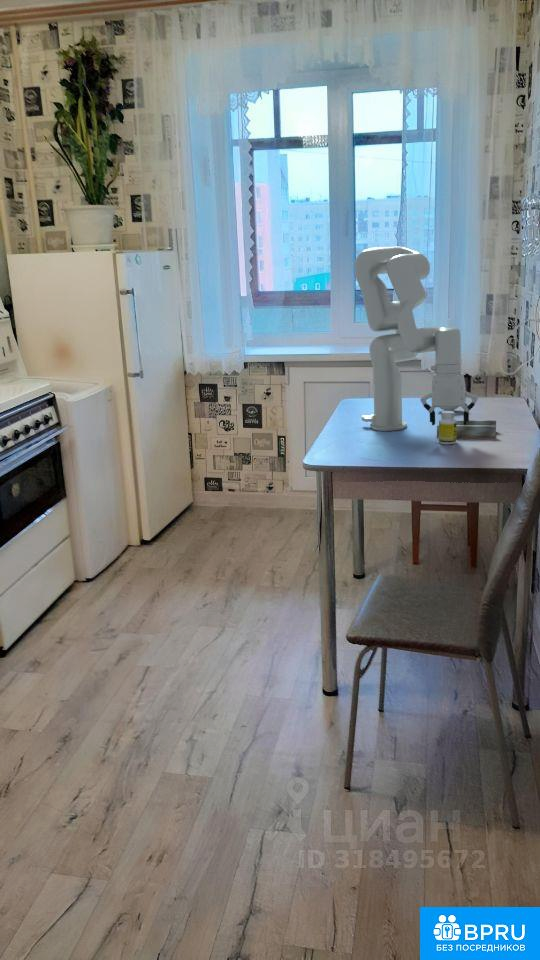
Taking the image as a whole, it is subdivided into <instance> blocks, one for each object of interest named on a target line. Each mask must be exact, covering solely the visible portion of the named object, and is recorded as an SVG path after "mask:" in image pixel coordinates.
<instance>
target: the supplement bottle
mask: <svg viewBox="0 0 540 960" xmlns="http://www.w3.org/2000/svg"><path fill="white" fill-rule="evenodd" d="M440 414H441V418H440V419H439V420H438V425H439V437H438V443H439V444H440V445H455V444H456V443H457V438H456V429H457V421H456V420H457V419H456V418H455V411H454V410H452V411H445V410H442V411H441V413H440Z"/></svg>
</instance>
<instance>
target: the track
mask: <svg viewBox="0 0 540 960" xmlns="http://www.w3.org/2000/svg"><path fill="white" fill-rule="evenodd" d="M456 421H457V429H456V439H458V438H460V439H462V438H463V439H466V438H467V439H496V435H497V420H496V419H469V422H467V424H466V425H464V419H456ZM436 438H439V424H437V425H436Z"/></svg>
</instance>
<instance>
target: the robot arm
mask: <svg viewBox="0 0 540 960" xmlns="http://www.w3.org/2000/svg"><path fill="white" fill-rule="evenodd" d="M430 272H431V265H430V262H429V260H428V258H427V256H425V254H422V253H420V252H419V251H415V250H413V249H410V248H407V247H404V246H379V247H370V248H366V249H364V250H362V251H361V252H360V253H358V255H357V257H356V259H355V262H354V274H355V278H356V281H357V282H356V283H357V284H358V286H359V290H360V293H361V295H362V300H363V306H364V310H365V315H366V320H367V323H368V326H369V328H370V330H371V331H372V332H379V333H381V332H391V331H394V332H395V333H390V334H383V335H379V336H377V337H375V338H374V339H372V340H371V342H370V344H369V355H370V360H371V366H372V376H373V377H372V378H373V379H372V380H373V384H372V385H373V412H374V413H373V414H371V415H368V414H367V415H362V417H361V421H362V422H366V423H368V422H369V423H370V424H369V427H370V429H371V428H372V430H374V431H382V432H390V431H391V432H392V431H401V430H403V429H406V428H407V426H408V424H407V422H406V421H404V420H403V398H402V397H403V395H402V394H403V392H402V390H403V386H402V384H403V383H402V382H403V381H402V374H401V371H400V369H399V368H398V365H397V364H396V363H399V362H405V361H412V360H414V359H415V358H417V356H418V354H422V353H429V352H435V354H434V355H435V364H434V365H431V366H430V371H434V372H435V373H434V374H433V375H432V382H431V392H430V393H428V394H425V395H424V396H423V397H421V398H420V402H421V404H422V405H423V408H425V410H427V412H428V413H429V423H431V426H435V425H436V411H435V409H436V408H439V407H458V408H459V407H461V408H462V410H463V420H464V425H466V424H467V422H469V420H470V416H469V415H470V411H471V410H472V409H473V408H474V407H475V405H476V403H477V402H478V399H479V398H478V396H477V395H475V394H472V393H471V392H468V391H466V380H465V376H464V372H462V353H461V352H462V351H461V350H462V349H461V348H462V345H461V344H462V343H461V341H462V339H461V337H462V336H461V330H460V329H459V328H457V327H445V326H438V325H436V326H428V327H420V328H418V327H417V326H416V321H415V316H414V313H413V310H414V309H416V308H417V307H418V306H420V305H421V304H422V303H424V302H425V300H426V298H427V292H426V289H425V287H424V285H423V284H422V283H423V282H422V280H425V279H426V278H427V277H428V276H429V274H430ZM383 274H387V276H388V278H389V281H390V282H391V285H392V287H393V290H394V293H395V294H396V297H397V299H398V300H395V301H391V299H390V296H389V291H388V288H387V286H386V284H385V283H384V281H383V280H382V279H381V278H380V277H379V275H383ZM467 398H469V399H471V402H470V403H469V404H467V403H466V402H467ZM429 399H431V405H430V404H429V403H428V402H427V400H429Z"/></svg>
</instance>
